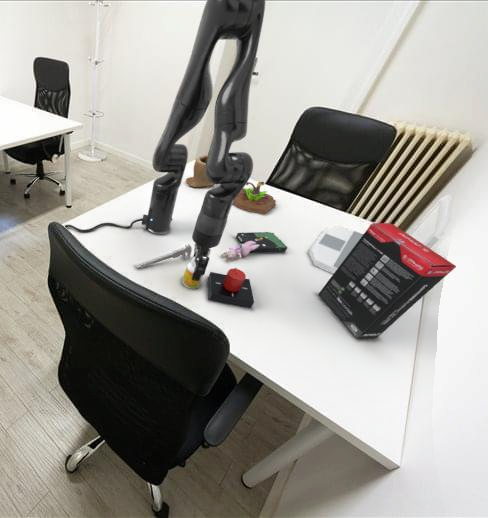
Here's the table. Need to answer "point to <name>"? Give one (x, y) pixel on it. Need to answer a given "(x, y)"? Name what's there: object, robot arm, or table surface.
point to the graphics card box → (382, 279)
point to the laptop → (343, 240)
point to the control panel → (229, 292)
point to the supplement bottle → (188, 276)
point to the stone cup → (199, 173)
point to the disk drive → (263, 242)
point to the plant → (254, 200)
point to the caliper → (168, 256)
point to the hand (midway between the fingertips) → (195, 270)
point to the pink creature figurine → (240, 250)
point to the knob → (234, 280)
